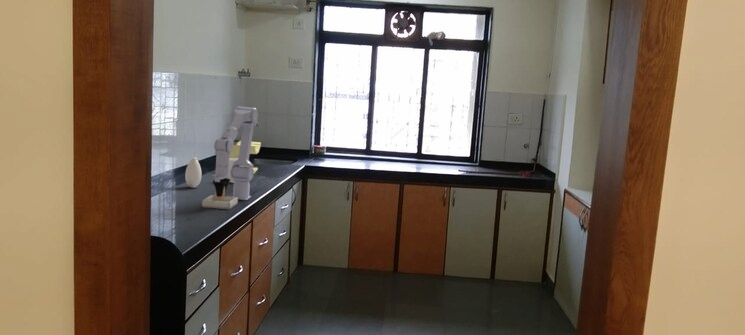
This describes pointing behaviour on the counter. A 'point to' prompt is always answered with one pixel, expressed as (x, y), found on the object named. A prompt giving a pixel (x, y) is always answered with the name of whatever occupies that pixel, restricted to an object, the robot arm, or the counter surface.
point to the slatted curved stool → (253, 150)
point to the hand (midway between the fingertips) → (220, 195)
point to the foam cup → (231, 167)
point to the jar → (221, 197)
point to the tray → (220, 202)
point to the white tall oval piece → (193, 173)
